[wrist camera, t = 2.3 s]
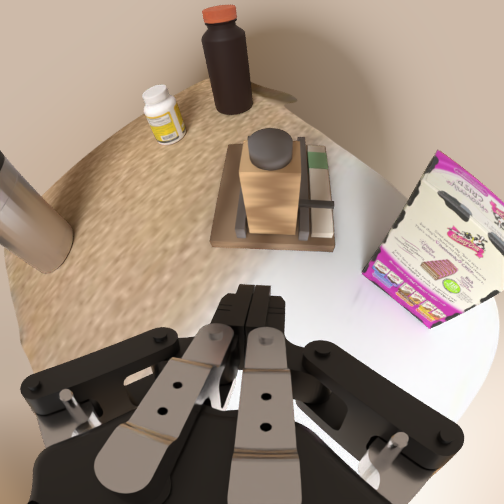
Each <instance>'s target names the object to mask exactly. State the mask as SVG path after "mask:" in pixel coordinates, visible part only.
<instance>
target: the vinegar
mask: <svg viewBox="0 0 504 504" xmlns="http://www.w3.org/2000/svg"><path fill="white" fill-rule="evenodd" d="M202 13H203V19H204V22H205V25H206V26H207V28H208V30H207V31H206V32H205V33H204V35H203V36H202V45H203V49H204V54H205V58H206V64H207V68H208V73H209V78H210V82H211V87H212V92H213V96H214V101H215V106H216V108H217V110H218V111H219V112H220V113H223V114H227V115H234V114H240V113H243V112H245V111H247V110H248V109H249V108H251V106H252V104H253V101H252V91H251V82H250V73H249V64H248V55H247V46H246V37H245V31H244V30H243V29H241V28H239V27H238V26H237V25H236V23H235V21H236V20H237V19H236V18H237V15H236V7H235V5H220V6H215V7H210V8H207V9H204V10H203V11H202Z"/></svg>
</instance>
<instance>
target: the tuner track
mask: <svg viewBox="0 0 504 504" xmlns="http://www.w3.org/2000/svg"><path fill="white" fill-rule="evenodd" d="M249 137H250V136H248V139H249ZM248 139H247V140H248ZM297 141H300V155H301V182H300V192H299V199H307V200H326V201H332V199H331V189H330V180H329V171H328V163H327V155H326V148H325V146H317V145H308V146H307V145H305V137H298V140H297ZM242 149H243V144H231V145H228V149H227V154H226V159H225V163H224V168H223V173H222V178H221V183H220V188H219V193H218V198H217V203H216V209H215V214H214V220H213V225H212V231H211V236H210V243H211V245H212V247H224V248H249V249H274V250H299V251H323V252H333V250H334V247H335V237H334V223H333V210H332V209H326V208H307V207H298V212H297V222H296V231H295V235H285V234H258V233H250V232H249V226H248V221H247V215H246V210H245V204H244V199H243V193H242V188H241V182H240V177H239V167H240V161H241V155H242Z"/></svg>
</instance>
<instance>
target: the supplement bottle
mask: <svg viewBox="0 0 504 504" xmlns="http://www.w3.org/2000/svg"><path fill="white" fill-rule="evenodd" d="M142 97H143V100H144V102H145V104H146V105H145V107H144V113H145V116H146V118H147V120H148V122H149V125H150V127H151V129H152V131H153V133H154V136H155V138H156V140H157V142H158V143H160V144H162V145H170V144H173V143H176V142H178V141H179V140H180V139H182V138H183V136H184V135H185V133H186V128H185V125H184V122H183V119H182V116H181V113H180V110H179V107H178V104H177V101H176V99H175V97H174V96H172V95H169V92H168V89H167V87H166V86H165V85H163V84H161V85H156V86H153V87H151V88H149V89H147V90H146V91H145V92H144V93H143V95H142Z"/></svg>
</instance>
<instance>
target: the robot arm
mask: <svg viewBox="0 0 504 504" xmlns="http://www.w3.org/2000/svg"><path fill="white" fill-rule="evenodd" d="M72 241H73V230H72V227H71V226H70V224H69V223H68V222H67V221H66V220H64V219H63V218H62V217H61V216H60V215H59V214H58V213H57V212H56V211H55V210H54V209H53V208H52V207H51V206H50V205H49V204H48V203H47V202H46V201H45V200H44V199H43V198H42V197H41V196H40V195H39V194H38V193H37V192H36V190H35V189H34V188H33V187H32V186H31V185H30V184H29V183H28V182H27V181H26V180H25V179H24V178H23V176H21V174H20V173H19V172H18V171H17V170H16V169H15V168H14V166H13V165H12V164H11V163H10V162H9V161H8V159H7V158H6V157H5V156H4V155H3V153H2V152H1V151H0V244H1V245H2V246H4V247H5V248H6V249H8V250H9V251H10V252H12V253H13V254H15V255H16V256H18V257H19V258H21V259H22V260H23V261H25V262H26V263H28V264H29V265H31V266H32V267H34V268H36V269H37V270H39V271H40V272H42V273H50V272H52V271H54V270H56V269H57V268H58V267H59V266H60V265H61V264H62V263H63V261H64V260H65V259H66V257H67V255H68V253H69V251H70V248H71V245H72ZM284 328H285V301H284V300H283V298H282V297H281V296H271V286H265V285H256V286H255V285H245V284H240V285H239V287H238V290H237V292H236V294H231V293H228V294H227V295H225V296H224V297H223V298H222V299H221V301H220V303H219V305H218V307H217V310H216V312H215V314H214V316H213V319H212V321H211V323H210V324H208V325H205V326H203V327H202V328H201V329H200V330H199V331H198V333H197V334H196V336H195V337H188V338H178V335H177V333H176V331H174V330H173V329H170V328H166V327H160V328H155V329H152V330H149V331H147V332H145V333H142V334H140V335H137V336H134V337H132V338H129V339H127V340H124V341H122V342H119V343H117V344H114V345H111V346H109V347H106V348H104V349H101V350H98V351H96V352H93V353H90V354H88V355H85V356H82V357H80V358H77V359H74V360H71V361H69V362H66V363H63V364H60V365H58V366H55V367H52V368H49V369H46V370H43V371H40V372H38V373H35V374H32V375H30V376H28V377H27V378H26V379H25V380H24V381H23V382H22V384H21V388H20V390H21V394H22V395H23V397H24V398H25V400H26V401H27V403H28V404H29V406H30V407H31V409H32V411H33V413H34V414H35V415H36V417H37V420H38V424H39V428H40V431H41V435H42V438H43V442H44V444H45V448H46V449H44V450H43V451H42V452H41V453H40V454H39V455H38V457H37V459H36V461H35V463H34V467H33V483H32V491H31V495H30V500H29V502H28V504H408V503H409V502H410V501H411V499H412V498H413V497H414V496H415V495H416V494H417V493H418V492H419V491H420V489H421V488H422V487H423V486H424V485H425V483H426V482H427V481H428V480H429V478H431V477H432V476H433V475H434V474H435V473H436V472H437V471H439V470H440V469H441V468H442V467H443V466H444V465H445V464H446V463H447V462H448V461H449V460H450V459H451V458H452V457H453V456H454V455H455V454H456V453H457V452H458V451H459V450H460V449H461V447H462V446H463V443H464V434H463V431H462V429H461V428H460V426H458V424H456V423H455V422H453V421H451V420H450V419H448V418H447V417H445V416H443V415H442V414H440V413H439V412H437V411H435V410H434V409H432V408H431V407H429V406H427V405H426V404H424V403H423V402H421V401H420V400H418V399H416V398H415V397H413V396H412V395H410V394H409V393H407V392H406V391H404V390H403V389H401V388H399V387H398V386H396V385H395V384H393V383H392V382H390V381H389V380H387V379H386V378H384V377H383V376H381V375H380V374H378V373H377V372H375V371H374V370H372V369H371V368H369V367H368V366H366V365H365V364H363V363H362V362H360V361H359V360H357V359H356V358H354V357H353V356H351V355H350V354H349V353H347V352H346V351H344V350H343V349H341V348H340V347H338V346H337V345H335V344H334V343H331V342H329V341H323V340H318V341H313V342H310V343H308V344H307V345H306V346H305V347H300V346H296V345H294V344H292V343H290V342H289V341H288V340H287V339H286V337H285V335H284ZM150 366H151V368H152V372H153V374H151V375H149V376H146V377H144V378H142V379H140V380H138V381H135V382H133V383H131V384H128V385H126V386H124V384H123V383H124V380H125V379H126V377H128V376H129V375H132V374H134V373H136V372H139V371H141V370H143V369H145V368H148V367H150ZM238 370H243V373H242V383H241V392H240V401H239V410H228V411H226V409H227V406H228V404H229V401H230V398H231V395H232V392H233V390H234V387H235V384H236V376H237V372H238ZM293 399H295V400H296V404H297V406H298V407H299V408H300V409H301V410H302V411H303V412H304V413H305V414H306V415H307V416H308V417H310V418H311V419H312V420H313V421H314V422H315V423H316V424H317V425H318V426H319V427H320V428H321V429H323V430H324V431H325V432H326V433H327V434H328V435H329V436H330V437H331V438H333V439H334V440H335V441H336V442H337V443H338V444H339V445H341V446H342V447H343V448H344V449H345V450H346V451H348V452H349V453H350V454H351V455H352V456H353V457H355V458H356V459H357V460H358V461H360V462H359V465H358V472H359V475H358V474H357V473H356V472H355V471H354V470H353V469H352V468H351V467H350V466H349V465H347V464H346V463H345V462H344V461H343V460H342V459H341V458H340V457H339V456H338V455H337V454H336V453H335V452H334V451H333V450H332V449H331V448H330V447H329V446H328V445H327V444H326V443H325V442H324V441H323V440H321V439H320V438H319V437H318V436H317V435H316V434H315V433H314V432H313V431H311V430H310V429H309V428H307V427H305V426H304V425H302V424H300V423H298V422H295V421H294V408H293Z"/></svg>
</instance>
